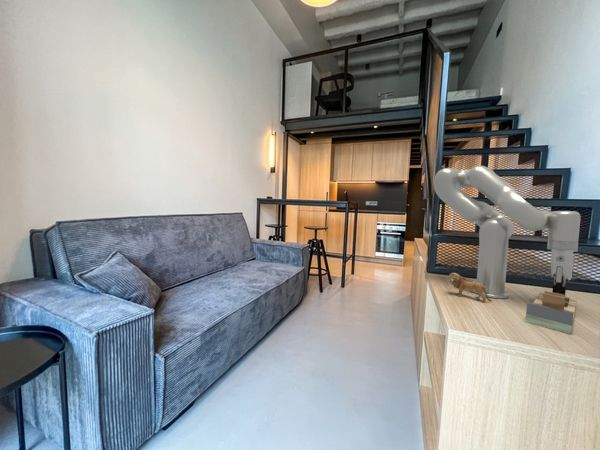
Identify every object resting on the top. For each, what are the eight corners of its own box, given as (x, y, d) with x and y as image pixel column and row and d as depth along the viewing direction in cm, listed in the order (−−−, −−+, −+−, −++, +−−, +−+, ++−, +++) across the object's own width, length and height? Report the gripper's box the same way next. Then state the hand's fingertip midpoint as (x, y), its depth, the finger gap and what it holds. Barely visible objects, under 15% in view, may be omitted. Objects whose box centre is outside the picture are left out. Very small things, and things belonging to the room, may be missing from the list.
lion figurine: (446, 294, 104) (447, 273, 103) (448, 291, 108) (450, 270, 107) (491, 304, 95) (493, 280, 94) (491, 300, 99) (494, 277, 98)
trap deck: (571, 334, 74) (572, 325, 73) (525, 321, 81) (526, 314, 81) (575, 305, 96) (576, 298, 96) (539, 297, 104) (540, 291, 103)
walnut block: (562, 311, 84) (564, 298, 83) (542, 306, 87) (543, 293, 87) (564, 307, 87) (565, 294, 86) (543, 303, 91) (545, 290, 90)
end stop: (572, 325, 73) (573, 314, 73) (526, 314, 81) (527, 303, 81) (572, 324, 74) (573, 312, 74) (526, 312, 82) (528, 302, 82)
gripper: (577, 249, 83) (572, 304, 84) (578, 245, 93) (574, 295, 94) (545, 246, 88) (541, 298, 90) (549, 243, 98) (546, 290, 99)
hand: (558, 296), depth 92 cm, fingers closed
